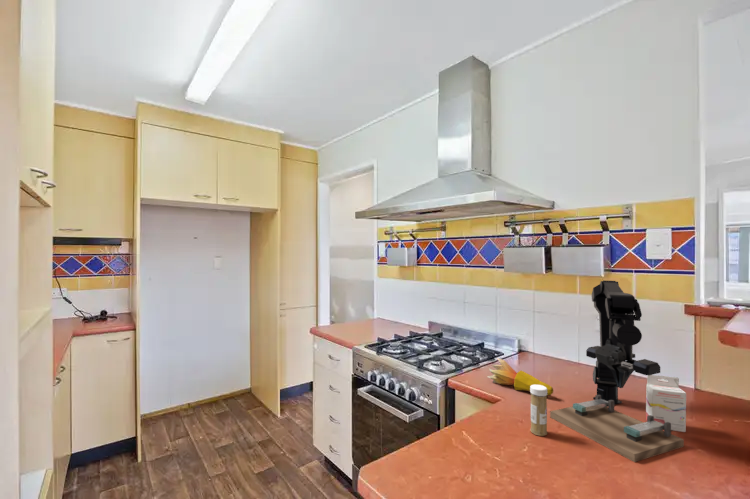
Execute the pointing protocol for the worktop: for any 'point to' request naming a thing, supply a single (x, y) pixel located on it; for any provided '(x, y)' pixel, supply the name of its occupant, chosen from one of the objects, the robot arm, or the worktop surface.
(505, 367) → the torch
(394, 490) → the worktop surface
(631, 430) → the bar
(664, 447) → the jig board
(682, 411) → the ink cartridge box
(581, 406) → the bar
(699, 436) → the worktop surface
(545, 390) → the sprinkles bottle
